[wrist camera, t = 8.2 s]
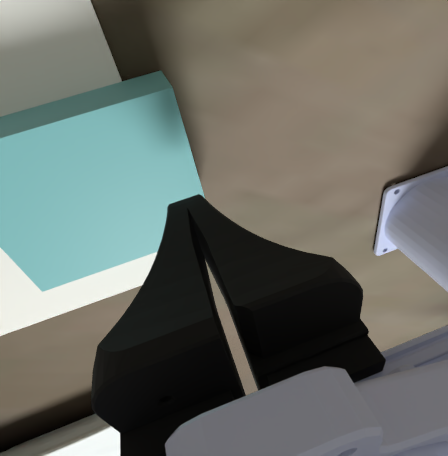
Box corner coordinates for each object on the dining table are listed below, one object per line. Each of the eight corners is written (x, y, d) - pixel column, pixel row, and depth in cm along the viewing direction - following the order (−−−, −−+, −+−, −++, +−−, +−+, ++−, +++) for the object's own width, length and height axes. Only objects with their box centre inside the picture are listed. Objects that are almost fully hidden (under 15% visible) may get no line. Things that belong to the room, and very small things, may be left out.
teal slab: (172, 87, 12) (-80, 162, 11) (214, 231, 17) (42, 291, 16) (160, 70, 15) (-39, 128, 14) (199, 197, 20) (53, 246, 20)
